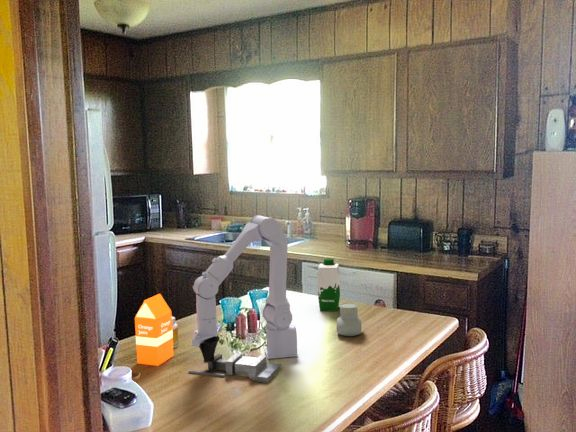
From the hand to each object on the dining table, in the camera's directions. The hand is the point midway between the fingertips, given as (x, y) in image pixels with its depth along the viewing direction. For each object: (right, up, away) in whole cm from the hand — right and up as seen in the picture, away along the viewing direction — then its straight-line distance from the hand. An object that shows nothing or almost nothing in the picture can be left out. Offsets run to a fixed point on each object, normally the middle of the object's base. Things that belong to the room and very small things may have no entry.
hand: (208, 361), depth 159 cm
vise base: (+8, -2, -3) cm, 9 cm away
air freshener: (+45, +2, +27) cm, 53 cm away
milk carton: (+40, +5, +59) cm, 72 cm away
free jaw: (+5, -2, -2) cm, 6 cm away
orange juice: (-18, -2, +9) cm, 20 cm away
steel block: (+12, -2, -3) cm, 12 cm away
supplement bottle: (-16, 0, +20) cm, 25 cm away
